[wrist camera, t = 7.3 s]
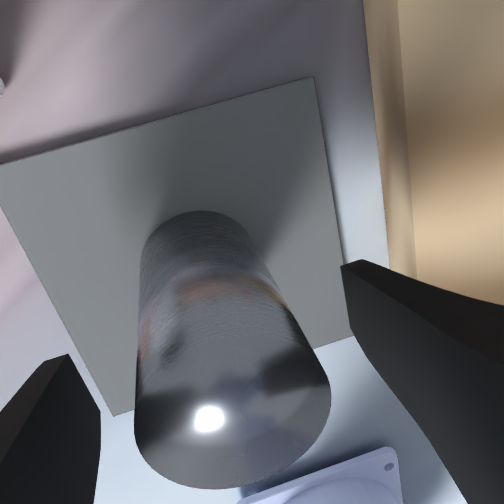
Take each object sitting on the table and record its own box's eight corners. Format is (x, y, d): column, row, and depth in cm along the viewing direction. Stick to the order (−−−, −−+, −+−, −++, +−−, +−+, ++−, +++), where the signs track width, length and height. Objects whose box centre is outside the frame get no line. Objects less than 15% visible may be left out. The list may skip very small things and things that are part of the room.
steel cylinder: (267, 295, 16) (343, 450, 10) (162, 329, 16) (171, 512, 10) (241, 195, 14) (314, 307, 8) (121, 231, 14) (100, 378, 8)
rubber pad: (350, 329, 18) (354, 335, 18) (113, 409, 17) (113, 416, 17) (309, 77, 14) (313, 77, 13) (-14, 167, 13) (-19, 170, 12)
